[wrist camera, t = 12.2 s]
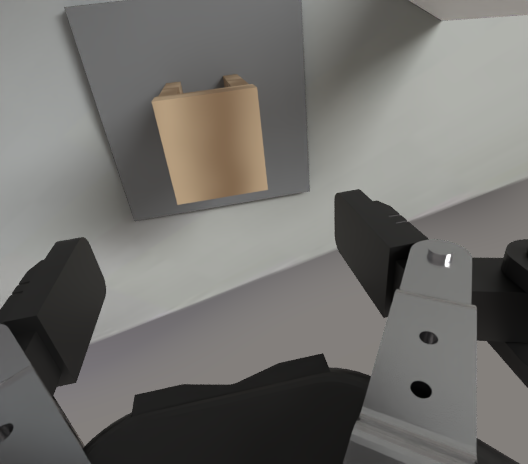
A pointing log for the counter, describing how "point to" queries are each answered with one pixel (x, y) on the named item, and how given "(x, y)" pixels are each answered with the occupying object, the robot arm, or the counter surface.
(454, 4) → the milk
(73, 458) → the robot arm
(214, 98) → the tan notched block
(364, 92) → the counter surface
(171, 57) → the mat
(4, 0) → the counter surface
